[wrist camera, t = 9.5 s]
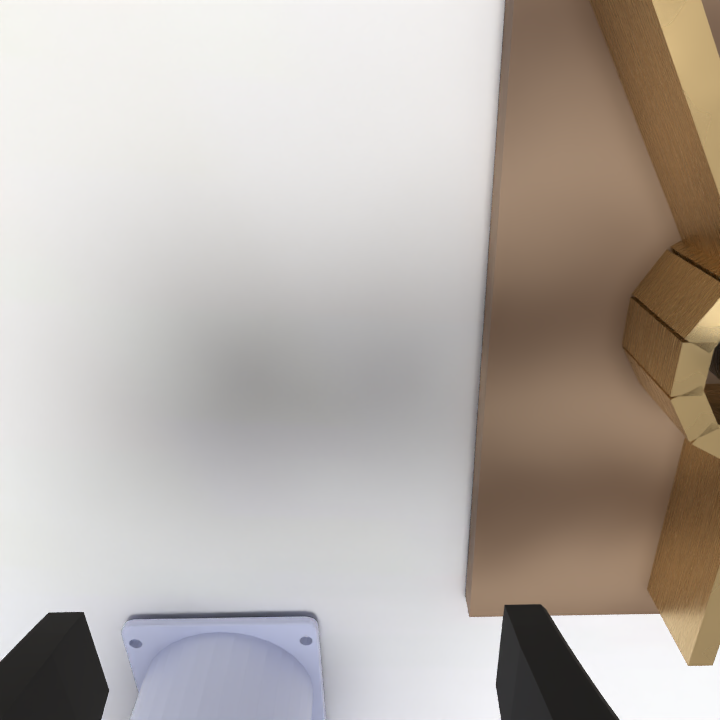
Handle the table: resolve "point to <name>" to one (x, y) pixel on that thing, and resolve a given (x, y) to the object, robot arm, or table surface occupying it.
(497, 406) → the board
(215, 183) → the table surface
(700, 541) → the hinge
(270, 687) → the robot arm
